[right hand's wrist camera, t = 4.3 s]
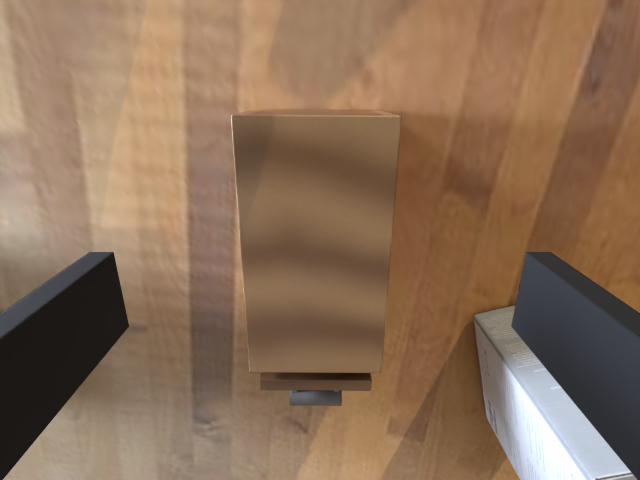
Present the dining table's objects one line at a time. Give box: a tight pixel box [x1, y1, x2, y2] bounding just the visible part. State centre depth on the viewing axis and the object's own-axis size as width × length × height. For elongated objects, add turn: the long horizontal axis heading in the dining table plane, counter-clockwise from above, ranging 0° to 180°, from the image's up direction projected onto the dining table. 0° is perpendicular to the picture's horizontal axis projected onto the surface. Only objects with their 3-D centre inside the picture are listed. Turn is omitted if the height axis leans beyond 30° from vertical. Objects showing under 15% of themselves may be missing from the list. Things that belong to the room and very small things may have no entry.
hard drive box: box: [473, 306, 637, 480], centre depth 35 cm, size 16×8×20 cm, turn 15°
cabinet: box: [231, 109, 401, 373], centre depth 34 cm, size 21×11×10 cm, turn 0°
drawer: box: [259, 372, 372, 406], centre depth 36 cm, size 26×10×8 cm, turn 0°
